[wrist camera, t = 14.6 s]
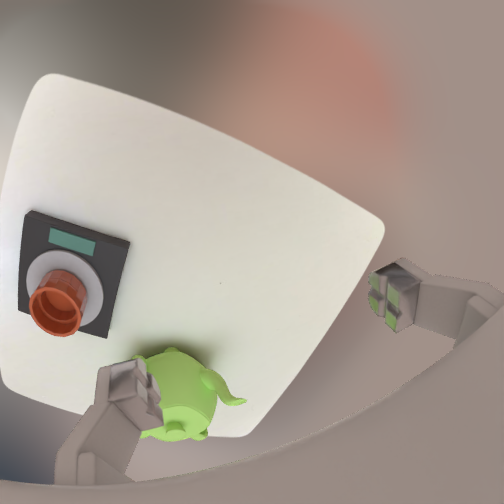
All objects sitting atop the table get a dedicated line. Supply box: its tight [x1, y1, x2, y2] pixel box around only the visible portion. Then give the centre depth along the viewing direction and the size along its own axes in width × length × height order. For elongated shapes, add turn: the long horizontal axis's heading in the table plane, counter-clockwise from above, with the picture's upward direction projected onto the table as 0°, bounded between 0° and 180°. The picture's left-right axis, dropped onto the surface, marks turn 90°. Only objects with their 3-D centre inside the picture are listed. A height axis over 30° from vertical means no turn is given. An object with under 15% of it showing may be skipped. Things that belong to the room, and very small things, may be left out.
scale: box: [18, 210, 130, 339], centre depth 31 cm, size 14×14×3 cm
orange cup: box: [29, 270, 87, 337], centre depth 29 cm, size 7×7×5 cm
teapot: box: [131, 347, 247, 442], centre depth 38 cm, size 16×14×13 cm
